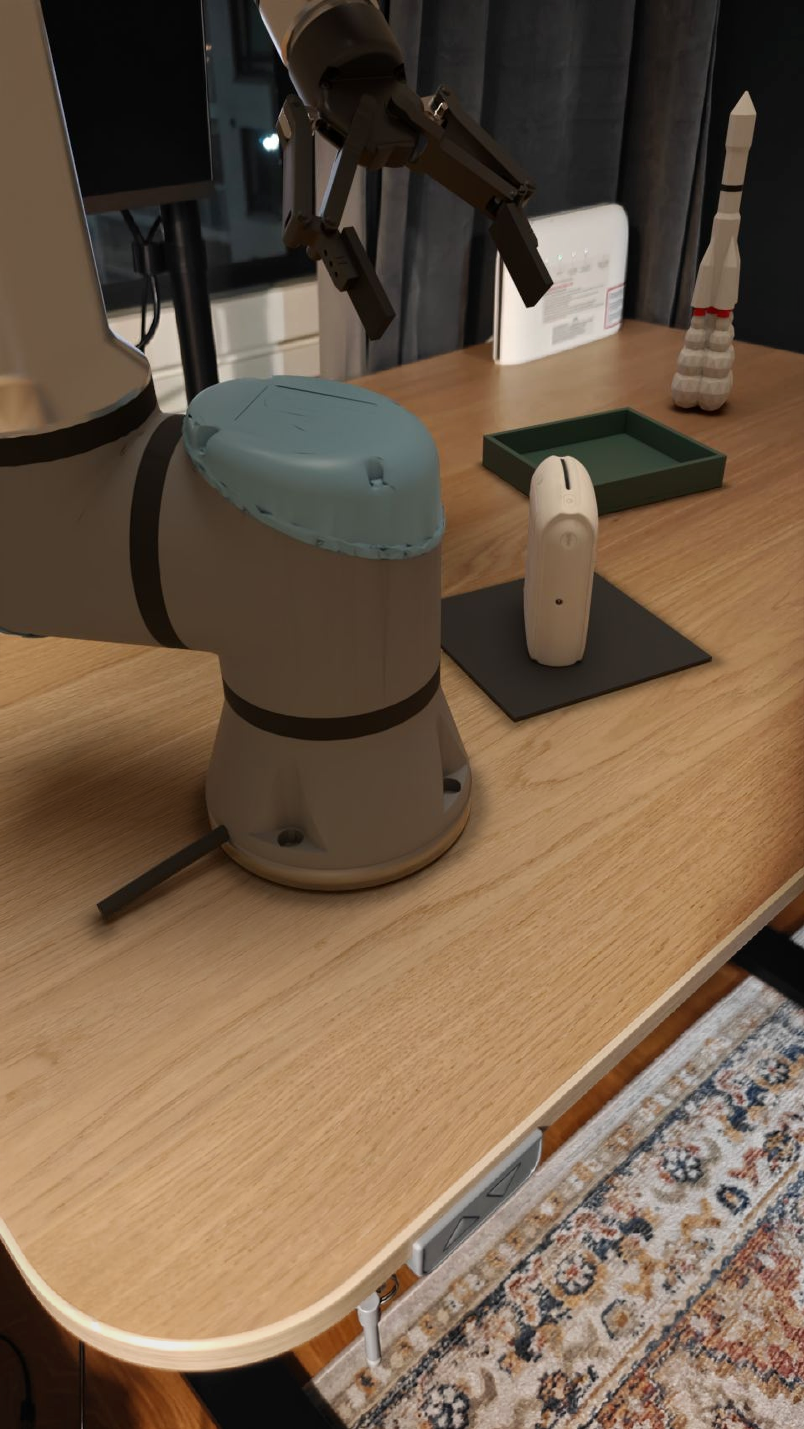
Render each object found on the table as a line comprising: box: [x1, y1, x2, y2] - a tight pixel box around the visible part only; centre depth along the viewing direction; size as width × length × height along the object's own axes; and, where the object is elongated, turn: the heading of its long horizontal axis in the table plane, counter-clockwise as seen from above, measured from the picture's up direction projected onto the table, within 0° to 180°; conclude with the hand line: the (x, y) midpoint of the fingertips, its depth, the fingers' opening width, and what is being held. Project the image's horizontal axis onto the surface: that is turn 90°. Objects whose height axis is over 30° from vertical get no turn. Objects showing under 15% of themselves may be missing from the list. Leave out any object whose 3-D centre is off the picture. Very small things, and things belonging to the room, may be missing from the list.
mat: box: [441, 571, 713, 722], centre depth 74 cm, size 16×16×1 cm
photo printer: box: [523, 456, 599, 667], centre depth 70 cm, size 10×4×12 cm, turn 177°
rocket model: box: [670, 90, 757, 412], centre depth 105 cm, size 7×7×30 cm
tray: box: [481, 406, 728, 516], centre depth 97 cm, size 17×15×3 cm
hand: (465, 312), depth 69 cm, fingers open, 13 cm apart
